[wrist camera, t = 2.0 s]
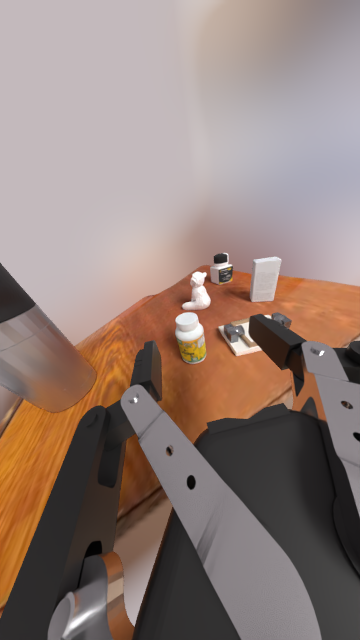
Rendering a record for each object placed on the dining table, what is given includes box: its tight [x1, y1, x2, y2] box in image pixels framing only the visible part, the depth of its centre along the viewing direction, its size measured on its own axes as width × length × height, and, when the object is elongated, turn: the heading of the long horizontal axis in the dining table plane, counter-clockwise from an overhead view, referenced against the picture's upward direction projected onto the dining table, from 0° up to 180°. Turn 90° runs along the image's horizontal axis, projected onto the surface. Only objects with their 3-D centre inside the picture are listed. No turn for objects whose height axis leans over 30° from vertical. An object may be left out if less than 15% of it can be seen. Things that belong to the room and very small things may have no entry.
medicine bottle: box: [210, 253, 233, 285], centre depth 59 cm, size 7×7×12 cm
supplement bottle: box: [175, 313, 206, 364], centre depth 26 cm, size 5×5×10 cm
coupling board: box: [219, 315, 271, 356], centre depth 29 cm, size 13×9×2 cm
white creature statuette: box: [183, 272, 211, 310], centre depth 43 cm, size 10×9×12 cm
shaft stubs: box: [224, 313, 291, 343], centre depth 28 cm, size 13×4×2 cm, turn 98°
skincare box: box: [250, 257, 281, 302], centre depth 39 cm, size 6×4×12 cm
